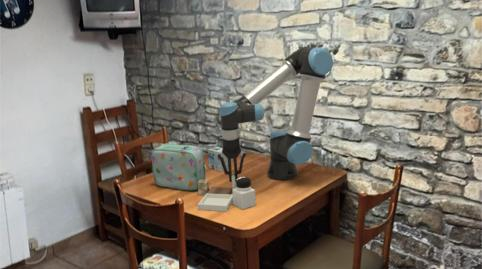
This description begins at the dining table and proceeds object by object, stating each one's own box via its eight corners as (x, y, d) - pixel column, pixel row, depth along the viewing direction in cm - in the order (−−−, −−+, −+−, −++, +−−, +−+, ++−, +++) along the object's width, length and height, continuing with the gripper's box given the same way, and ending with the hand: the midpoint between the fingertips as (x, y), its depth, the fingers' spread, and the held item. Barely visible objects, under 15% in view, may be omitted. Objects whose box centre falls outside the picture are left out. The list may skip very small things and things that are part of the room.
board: (233, 192, 208) (232, 187, 207) (228, 199, 201) (228, 194, 200) (212, 191, 210) (212, 186, 210) (207, 198, 203) (206, 193, 202)
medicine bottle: (256, 205, 191) (255, 178, 189) (242, 209, 187) (241, 182, 185) (246, 200, 197) (245, 174, 194) (232, 204, 193) (231, 178, 190)
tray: (234, 200, 198) (233, 194, 198) (226, 211, 186) (226, 205, 186) (206, 198, 201) (206, 193, 200) (197, 209, 189) (197, 204, 189)
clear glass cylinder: (209, 192, 209) (208, 180, 207) (206, 195, 205) (206, 182, 203) (201, 191, 210) (200, 179, 208) (198, 195, 206) (197, 182, 204)
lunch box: (210, 186, 217) (208, 143, 212) (200, 193, 208) (197, 148, 203) (163, 180, 228) (160, 139, 222) (152, 187, 218) (148, 144, 213)
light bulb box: (208, 168, 244) (207, 148, 241) (218, 165, 248) (217, 146, 246) (221, 172, 236) (220, 152, 234) (231, 169, 241) (230, 149, 238)
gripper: (245, 135, 201) (248, 184, 207) (216, 136, 202) (220, 186, 207) (245, 139, 194) (248, 190, 199) (215, 141, 194) (219, 192, 200)
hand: (234, 188), depth 203 cm, fingers closed
